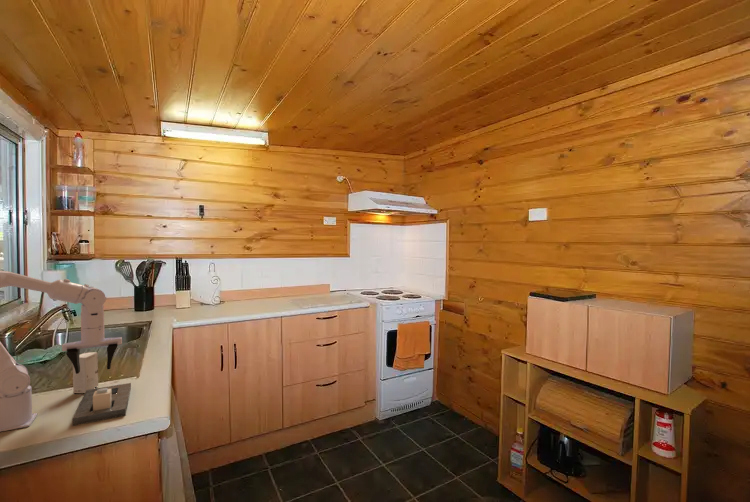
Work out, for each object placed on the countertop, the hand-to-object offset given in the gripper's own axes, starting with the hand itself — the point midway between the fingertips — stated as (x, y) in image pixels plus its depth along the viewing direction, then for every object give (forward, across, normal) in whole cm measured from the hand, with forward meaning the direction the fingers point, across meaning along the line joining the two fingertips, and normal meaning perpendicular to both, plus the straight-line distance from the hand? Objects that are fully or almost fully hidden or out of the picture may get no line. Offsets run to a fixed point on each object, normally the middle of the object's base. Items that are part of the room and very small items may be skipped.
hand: (93, 370), depth 114 cm
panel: (+10, -3, +3) cm, 11 cm away
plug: (+10, -3, +8) cm, 14 cm away
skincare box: (+11, +4, -14) cm, 18 cm away
